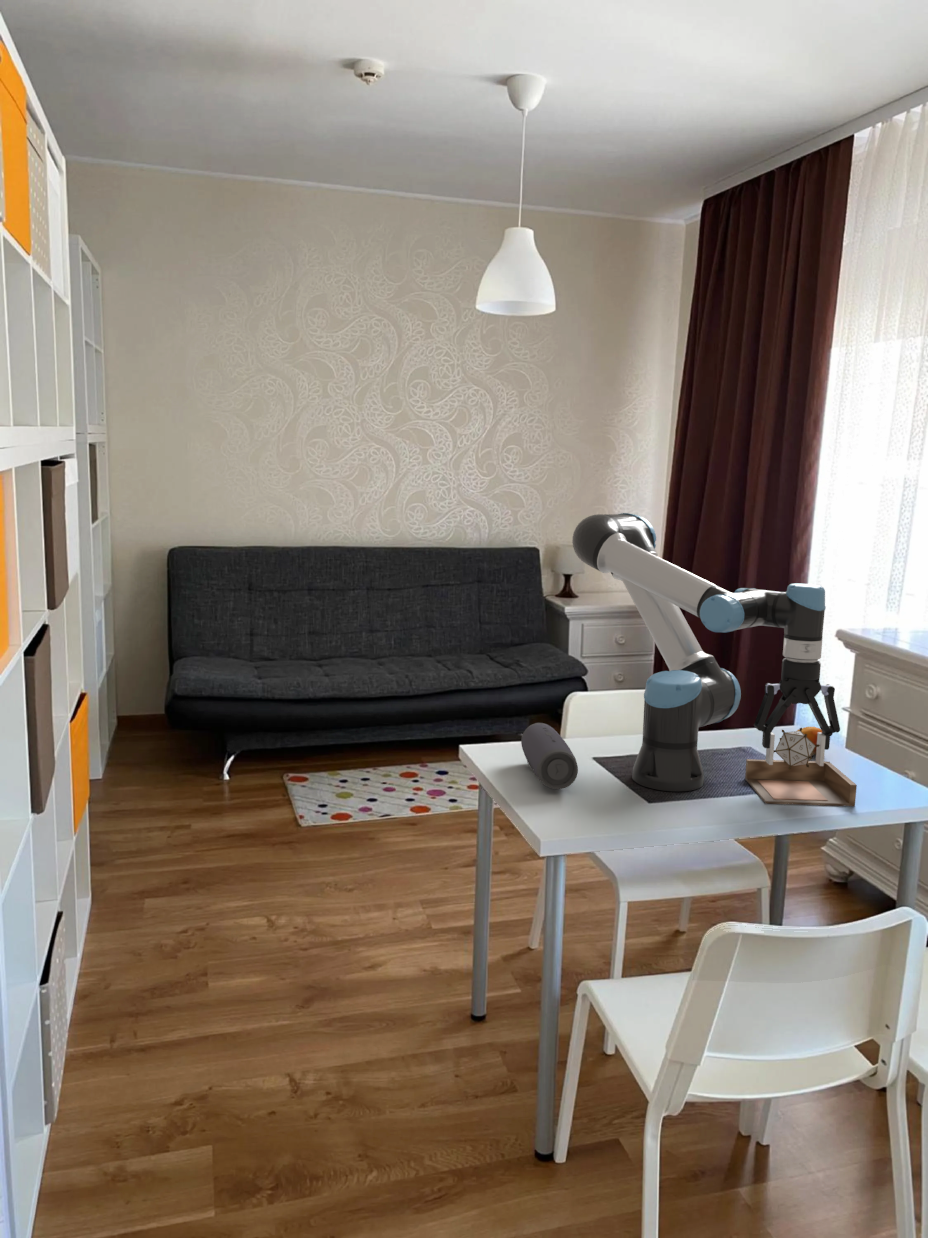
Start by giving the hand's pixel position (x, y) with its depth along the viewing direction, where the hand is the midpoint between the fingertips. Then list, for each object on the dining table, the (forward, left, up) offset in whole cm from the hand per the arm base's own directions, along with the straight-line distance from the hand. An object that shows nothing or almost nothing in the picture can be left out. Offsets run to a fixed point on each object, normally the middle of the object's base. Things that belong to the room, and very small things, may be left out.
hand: (794, 763), depth 203 cm
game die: (0, 0, -1) cm, 1 cm away
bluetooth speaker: (-51, +5, -7) cm, 52 cm away
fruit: (+13, +30, -7) cm, 33 cm away
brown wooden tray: (+1, +1, -6) cm, 7 cm away
